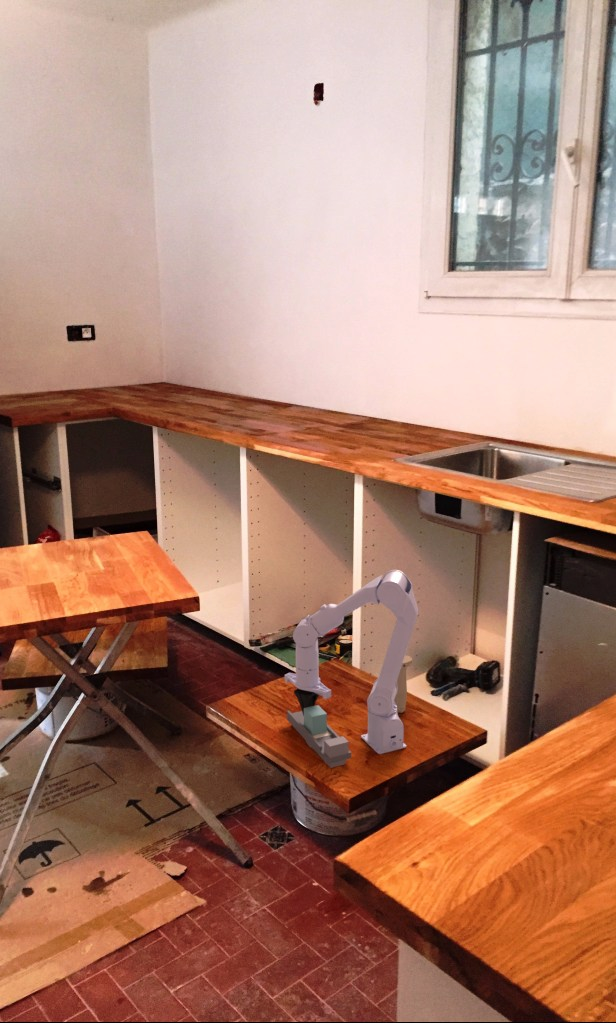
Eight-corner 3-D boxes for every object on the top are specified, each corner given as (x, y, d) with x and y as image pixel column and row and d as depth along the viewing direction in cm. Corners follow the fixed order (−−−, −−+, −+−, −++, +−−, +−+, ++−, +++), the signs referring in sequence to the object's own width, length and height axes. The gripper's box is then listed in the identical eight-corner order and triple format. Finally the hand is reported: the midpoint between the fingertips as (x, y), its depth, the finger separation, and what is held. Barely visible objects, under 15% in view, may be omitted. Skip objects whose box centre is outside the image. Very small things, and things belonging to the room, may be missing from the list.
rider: (326, 731, 212) (326, 713, 211) (312, 735, 211) (312, 716, 209) (318, 722, 217) (318, 704, 215) (303, 726, 215) (303, 708, 214)
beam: (351, 763, 204) (351, 741, 202) (327, 769, 201) (327, 747, 200) (309, 719, 225) (309, 698, 224) (287, 724, 222) (286, 703, 221)
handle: (384, 709, 230) (385, 657, 227) (405, 704, 233) (406, 653, 229) (392, 717, 226) (393, 664, 222) (413, 712, 228) (415, 660, 224)
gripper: (339, 669, 212) (339, 719, 215) (297, 653, 221) (298, 700, 225) (319, 678, 207) (320, 729, 210) (278, 661, 217) (279, 710, 220)
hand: (307, 715), depth 217 cm, fingers closed
